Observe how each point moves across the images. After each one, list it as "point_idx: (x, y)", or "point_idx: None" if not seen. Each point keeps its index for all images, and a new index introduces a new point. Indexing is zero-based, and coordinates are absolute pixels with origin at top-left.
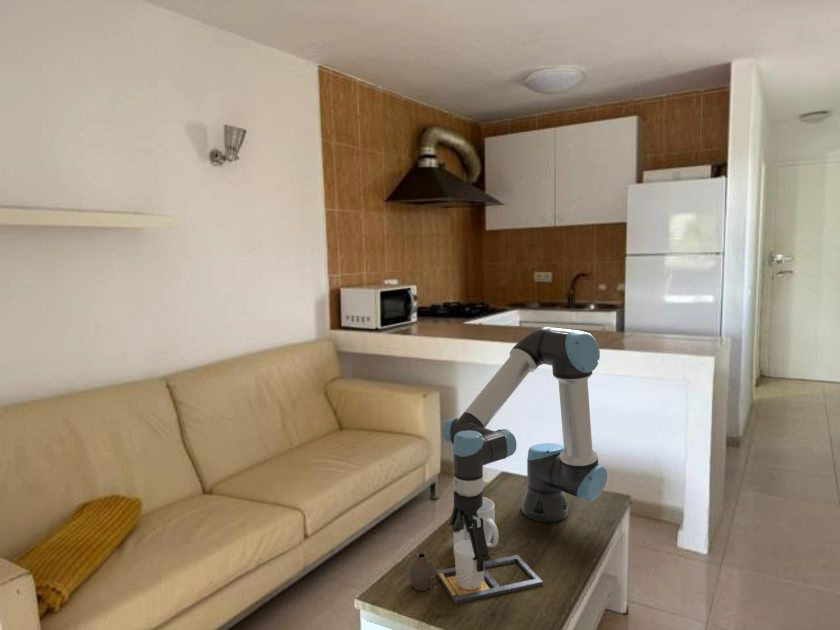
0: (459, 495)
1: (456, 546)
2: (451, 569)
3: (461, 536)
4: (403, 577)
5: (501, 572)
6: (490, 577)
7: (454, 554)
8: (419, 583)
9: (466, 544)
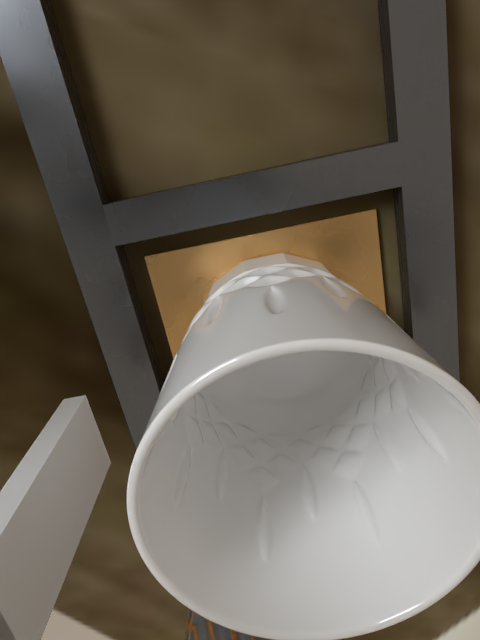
0: None
1: (226, 598)
2: (145, 422)
3: (22, 540)
4: (173, 617)
5: (166, 61)
6: (272, 185)
7: (108, 468)
8: None
9: (152, 480)
